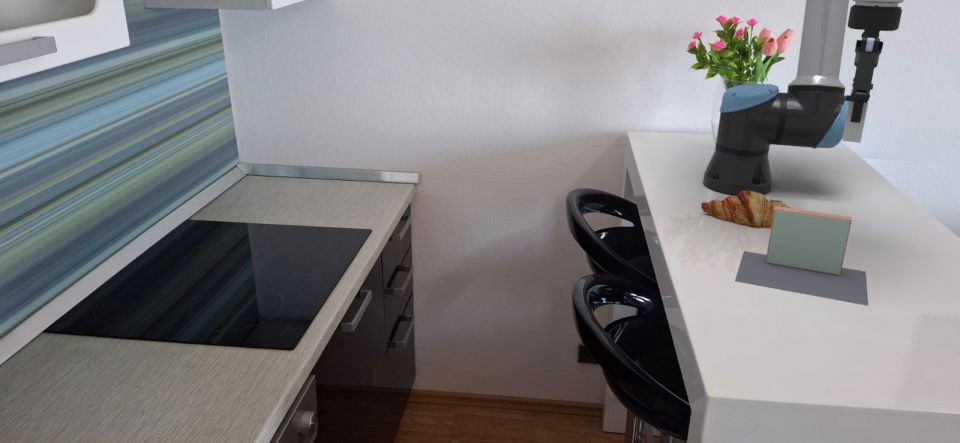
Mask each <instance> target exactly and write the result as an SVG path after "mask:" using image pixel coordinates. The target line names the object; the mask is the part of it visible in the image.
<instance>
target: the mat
mask: <svg viewBox="0 0 960 443" xmlns="http://www.w3.org/2000/svg"><path fill="white" fill-rule="evenodd" d="M766 257H767V254H765V253H764V254H763V253H760V252H759V253H758V252H753V251H746V250H743V253H742V257H741V260H740V264H739V266H738V268H737V269H738V270H737V273H736V276H735V279H734V282H737V283H742V284H748V285H755V286H758V287H764V288H768V289H769V288H770V289H776V290H781V291H784V292H785V291H787V292H792V293H797V294H798V293H799V294H802V295H803V294H804V295H808V296H813V297H819V298H824V299H830V300H834V301H841V302H846V303H852V304H857V305H863V306H867V307H868V306H869V299H868V297H869V296H868V283H867V271H865V270H859V269H852V268H846V267H842V270H841V274H840V275H834V274H828V273H822V272H817V271H811V270H805V269H799V268H793V267H788V266H782V265H776V264H770V263H766Z"/></svg>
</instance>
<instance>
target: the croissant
mask: <svg viewBox="0 0 960 443" xmlns="http://www.w3.org/2000/svg"><path fill="white" fill-rule="evenodd" d="M700 205H701V210H702V211H703V212H704V213H706V214H707V215H710V216H712V217H714V218H716V219H718V220H722V221H727V222H730V223H733V224H737V225H743V226H749V227H755V228H761V229H763V228H764V229H771V227H772V221H773V215H774V209H775V206H778V207H785V208H791V207H790V206H789V205H787V204H786V203H785V202H784V201H783V200H775V199H769V200H768V198H766V196H765V194H761V193H756V192H754V191H742V192H741V193H739V195H736V196H735V195H728V196H727V197H725V198H724V199H723V200H720V199H713V200H710V201H709V202H708V201H703V202H701V204H700Z"/></svg>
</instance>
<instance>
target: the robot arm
mask: <svg viewBox="0 0 960 443" xmlns="http://www.w3.org/2000/svg"><path fill="white" fill-rule="evenodd" d="M904 1H905V0H852V2H854V4H853V5H852V4H851V5H852V6H850V10H849V5H850V0H806V1H805V5H804V6H805V7H804V8H805V9H804V14H803V23H802V31H801V39H800V45H799V46H800V47H799V55H798V63H797V70H796V76H795V78H794V79H793V80H792V81H791V82H789V84H788V85H787V91H786V92H780V89H779V86H778V85H776V84H771V83H769V84H768V83H749V84H748V83H747V84H740V85H736V86H732V87H729V88H728V89H726V90H725V92H723V95H722V99H721V104H720V107H719V120H718V128H717V134H716V142H715V147H714V148H715V149H714V152H713V153H712V156H711V158H710V160H709V162H708V165H707V166H706V168H705V171H704V173H703V180H702V183H703V186H706V187H707V188H709V189H711V190H713V191H716V192H719V193H723V194H729V195H733V196H735V195H736V196H738V195H739V193H741V192H742V191H754V192H756V193H761V194H762V195H765V194H768V193H769V192H771V190H772V185H773V176H772V172H771V165H770V161H769V152H770V146H772V145H773V146H774V145H775V146H784V147H785V146H787V147H798V148H811V149H814V150H815V149H832V148H835V147H836V146H838V145H839V144H840V143H841V141H842V142H849V143H859V144H861V141H862V137H863V132H864V126H865V122H866V115H867V110H868V106H869V101H870V98H871V94H870V93H871V91H873V88H874V83H873V76H874V71H875V69H876V68H877V67H878V64H879V59H880V55H881V54H882V52H883V51H882V50H883V48H884V41H882V40H881V38H880V32H881V31H882V32H894V31H897V30H898V29H899V28H900V24H901V23H900V22H901V19H902V13H903V9H902V6H899V5H900V4H902V3H903V2H904ZM848 11H849V15H848ZM847 19H848V20H847ZM846 28H849V29H851V30H861V31H863V30H864V31H863V32H862V33H861V35H860V36H861V39H856V43H855V49H854V53H855V57H854V63H853V65H854V67H855V73H854V78H853V79H852V83H851V84H852V85H851V86H852V88H851V91H850V95H848V94H846V93H845V92H846V86H845V85H844V84H843V83H842V82H841V80H840V73H841V64H842V57H843V48H844V43H845V37H846V36H845V34H846ZM845 94H846V95H845Z"/></svg>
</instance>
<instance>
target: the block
mask: <svg viewBox="0 0 960 443" xmlns="http://www.w3.org/2000/svg"><path fill="white" fill-rule="evenodd" d="M852 220H853V218H852V216H846V215H840V214H835V213H833V214H832V213H826V212H820V211H819V212H818V211H812V210H811V211H810V210H804V209H798V208H791V207H790V208H785V207H778V206H775V209H774V215H773V221H772V227H770V234H769V240H768V247H767V252H766V255H767V257H766V263H770V264H776V265H782V266H788V267H793V268H799V269H805V270H811V271H817V272H822V273H828V274H834V275H840V274H841V270H842V268H843V265H844V264H843V263H844V259H845V254H846V250H847V245H848V240H849V236H850V230H851V226H852Z"/></svg>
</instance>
